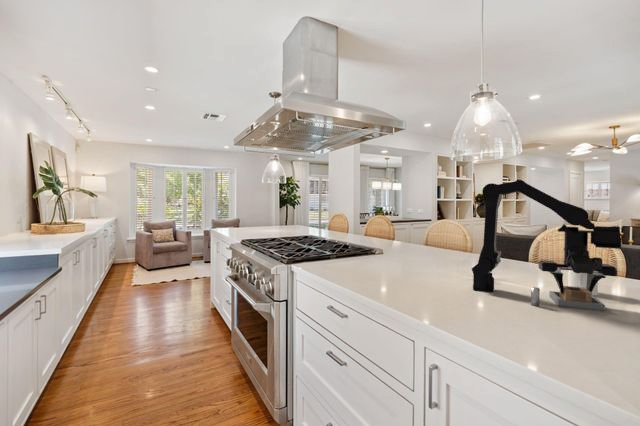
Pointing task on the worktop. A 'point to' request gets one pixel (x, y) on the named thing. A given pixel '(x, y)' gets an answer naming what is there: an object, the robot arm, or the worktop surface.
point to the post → (535, 296)
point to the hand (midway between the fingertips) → (574, 294)
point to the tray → (576, 303)
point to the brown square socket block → (576, 294)
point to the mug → (580, 281)
